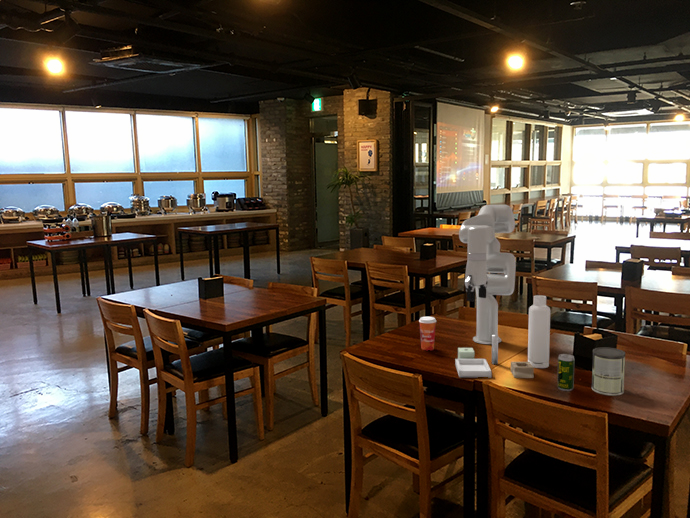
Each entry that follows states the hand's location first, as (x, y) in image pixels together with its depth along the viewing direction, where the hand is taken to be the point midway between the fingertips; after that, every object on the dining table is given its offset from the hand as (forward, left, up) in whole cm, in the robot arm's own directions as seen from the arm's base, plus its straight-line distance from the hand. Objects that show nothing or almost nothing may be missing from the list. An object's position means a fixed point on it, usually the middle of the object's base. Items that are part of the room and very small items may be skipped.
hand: (476, 299), depth 222 cm
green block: (-1, -4, -27) cm, 27 cm away
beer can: (+29, +27, -27) cm, 48 cm away
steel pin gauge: (+2, +7, -26) cm, 27 cm away
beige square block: (+15, +15, -26) cm, 34 cm away
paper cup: (-18, -19, -27) cm, 37 cm away
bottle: (+3, +24, -27) cm, 36 cm away
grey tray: (+11, -3, -26) cm, 29 cm away
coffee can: (+30, +41, -27) cm, 57 cm away
